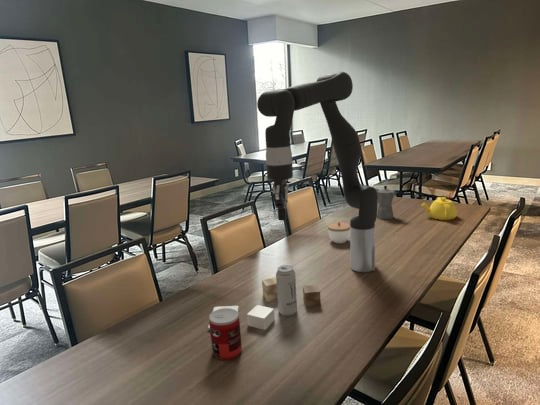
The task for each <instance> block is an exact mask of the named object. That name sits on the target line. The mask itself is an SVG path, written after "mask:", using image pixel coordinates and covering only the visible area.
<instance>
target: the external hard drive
mask: <svg viewBox="0 0 540 405" xmlns="http://www.w3.org/2000/svg"><path fill="white" fill-rule="evenodd" d="M223 308H230V309H234V310H236V311H237V312H238V313H239V309H240V307H239V305H226V306H225V305H222V306H214V307H213V309H212V312H214V311H216V310H218V309H223ZM207 332H210V325H209V324H208V326H207Z"/></svg>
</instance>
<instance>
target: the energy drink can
mask: <svg viewBox="0 0 540 405" xmlns="http://www.w3.org/2000/svg"><path fill="white" fill-rule="evenodd" d="M275 277H276V283H277V299H278V300H277V311H278V312H279V313H280V314H281V316H284V317H285V316H286V317H290V316H291V317H292V316H293V315H295V314H296V312H297V310H298V302H297V285H296V284H297V280H296V271H295V269H294V267H293V266H291V265H287V264H285V265H284V264H283V265H280V266H277V271H276V272H275Z"/></svg>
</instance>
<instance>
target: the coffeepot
mask: <svg viewBox="0 0 540 405" xmlns="http://www.w3.org/2000/svg"><path fill="white" fill-rule="evenodd" d="M375 189H376V191H377V195H378V207H377V218H376V219H379V218H380V220H390V219H393V218H394V212H393V211H394V210H393V206H392V203H393V199H394V197H395V196H396V195H398V194H397V191H395V190H393V189H390V188H388V186H387V185H383V189H379V188H375Z"/></svg>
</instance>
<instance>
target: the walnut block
mask: <svg viewBox="0 0 540 405" xmlns="http://www.w3.org/2000/svg"><path fill="white" fill-rule="evenodd" d="M302 295H303V296H302V297H303V301H304V306H305V308H307V307H315V306H317V307H319V306H321V304H322V303H321V290H320V287H319V285H318V284H309V285H302Z"/></svg>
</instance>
